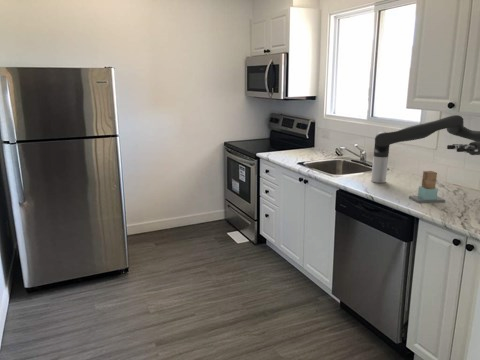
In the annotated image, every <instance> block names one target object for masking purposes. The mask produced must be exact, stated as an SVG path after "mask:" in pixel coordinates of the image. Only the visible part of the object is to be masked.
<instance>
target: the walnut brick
mask: <svg viewBox="0 0 480 360" xmlns="http://www.w3.org/2000/svg"><path fill="white" fill-rule="evenodd" d="M437 175H438V172H435V171H432V170H423V173H422V180H421V186H422V187H423V188H426V189H435V188H436V183H437V177H438V176H437Z"/></svg>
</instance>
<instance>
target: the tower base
mask: <svg viewBox="0 0 480 360" xmlns="http://www.w3.org/2000/svg"><path fill="white" fill-rule="evenodd" d="M438 192H439V189H438V188H436V187H435V189H426V188H423V187H422V185H419V186H418V192H417V195H409V198H408V199H410V200H412V201H414V202H415V203H418V204H419V203H426V204H427V203H446V199H445V198H442V197H440V196H438Z"/></svg>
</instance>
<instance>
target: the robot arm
mask: <svg viewBox="0 0 480 360" xmlns="http://www.w3.org/2000/svg"><path fill="white" fill-rule="evenodd" d="M445 129H446V131H447V133H449V134H450V135H452V136H456V137H460V138H464V139H467V140H471V142H469V144H467V143H466V144H463V143H455V144H454V143H453V144H448V145H446V150H456V153H467V154H469V155H471V156H480V130H472V129H469V128H467V127H466V126H464V118H463V117H462V115H458V114H455V115H449V116H446V117H443V118H440V119H436V120H431V121H428V122H423V123H419V124H413V125H410V126H407V127H405V128H404V127H403V128H402V129H399V130H395V131H388V132H386V131H379V132H378V133H376V135H375V138H374V149H373V157H372V158H373V159H372V167H371V178H370V179H371V182H372V183H377V184H383V183H386V181H387V172H388V164H389V163H388V162H389V154H390V146H391V145H393V144H397V143H400V142H401V143H402V142H411V141H416V140H421V139H425V138H427V137H429V136H430V135H432V134H435V132H437V131H440V130H445Z"/></svg>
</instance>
